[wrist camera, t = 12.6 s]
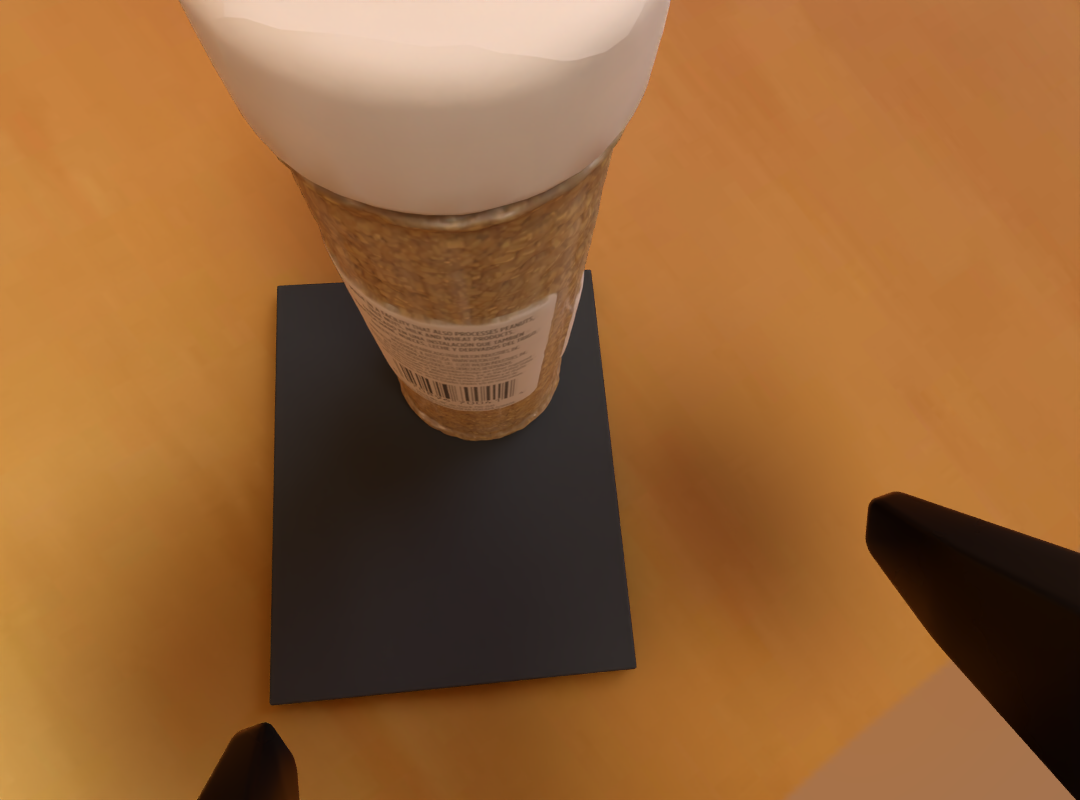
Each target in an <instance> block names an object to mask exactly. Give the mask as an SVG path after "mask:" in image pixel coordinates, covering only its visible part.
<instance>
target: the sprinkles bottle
mask: <svg viewBox="0 0 1080 800" xmlns="http://www.w3.org/2000/svg"><path fill="white" fill-rule="evenodd" d="M670 1H671V0H179V2H180V3H181V5H182V7H183V9H184V11H185V13H186V15H187V17H188V19H189V21H190V23H191V25H192V27H193V29H194V31H195V33H196V34H197V36H198V38H199V40H200V42H201V44H202V46H203V47H204V49H205V51H206V53H207V55H208V57H209V59H210V60H211V62H212V64H213V66H214V68H215V69H216V71H217V73H218V75H219V76H220V78H221V80H222V81H223V83H224V85H225V87H226V88H227V90H228V92H229V93H230V95H231V97H232V99H233V100H234V102H235V104H236V106H237V107H238V109H239V111H240V112H241V114H242V116H243V117H244V118H245V120H246V121H247V122H248V124H249V125H250V126H251V128H252V129H253V130H254V132H255V133H256V134H257V136H258V137H259V138H260V139H261V140H262V141H263V142H264V143H265V144H266V145H267V146H268V147H269V148H270V149H271V150H272V151H273V153H274V154H275V155H276V156H277V158H278V159H279V160H280V161H281V162H282V163H283V164H284V165H286V166H287V167H288V168H289V169H290V170H291V172H292V174H293V177H294V179H295V181H296V183H297V185H298V186H299V188H300V190H301V193H302V195H303V197H304V198H305V200H306V201H307V204H308V207H309V209H310V211H311V213H312V214H313V216H314V218H315V220H316V221H317V223H318V225H319V228H320V231H321V234H322V238H323V241H324V244H325V246H326V249H327V251H328V253H329V255H330V257H331V259H332V261H333V263H334V265H335V266H336V268H337V270H338V272H339V274H340V276H341V278H342V280H343V282H344V284H345V285H346V287H347V289H348V291H349V293H350V295H351V296H352V298H353V300H354V302H355V304H356V305H357V307H358V309H359V311H360V313H361V315H362V316H363V318H364V320H365V322H366V324H367V326H368V328H369V330H370V332H371V333H372V335H373V337H374V339H375V340H376V342H377V344H378V346H379V348H380V349H381V351H382V353H383V355H384V357H385V358H386V360H387V362H388V363H389V365H390V367H391V368H392V369H393V371H394V372H395V373H396V375H397V377H398V380H399V382H400V385H401V391H402V393H403V395H404V397H405V399H406V401H407V402H408V404H409V405H410V407H411V409H412V410H413V411H414V412H415V413H416V414H417V415H418V416H419V417H420V418H421V419H422V420H423V421H424V422H425V423H427V424H428V425H429V426H430V427H432V428H434V429H437V430H440V431H441V432H443V433H444V434H446V435H449V436H454V437H458V438H460V439H463V440H470V441H478V440H493V439H499V438H502V437H504V436H507V435H510V434H512V433H514V432H516V431H518V430H521V429H523V428H525V427H526V426H527V425H528V424H529V423H530V422H532V421H533V420H534V419H536V418H537V417H538V416H539V415H540V414H541V413H542V412H543V411H544V410H545V409H546V407H547V406H548V404H549V403H550V401H551V399H552V396H553V394H554V392H555V390H556V388H557V386H558V383H559V373H560V366H561V360H562V359H561V356H562V355H563V353H564V351H565V349H566V346H567V343H568V340H569V336H570V333H571V329H572V326H573V322H574V318H575V314H576V310H577V307H578V303H579V300H580V296H581V292H582V288H583V279H584V268H585V264H586V260H587V256H588V250H589V247H590V244H591V239H592V235H593V230H594V228H595V224H596V219H597V215H598V210H599V205H600V199H601V194H602V189H603V185H604V182H605V179H606V175H607V171H608V167H609V163H610V159H611V155H612V151H613V148H614V147H615V145H616V144H617V143H618V141H619V140H620V138H621V136H622V134H623V132H624V130H625V126H626V125H627V124H628V122H629V121H630V119H631V118H632V116H633V115H634V113H635V111H636V109H637V107H638V105H639V103H640V101H641V99H642V97H643V95H644V93H645V90H646V88H647V85H648V81H649V78H650V75H651V71H652V68H653V64H654V61H655V57H656V54H657V50H658V47H659V43H660V40H661V37H662V33H663V30H664V26H665V22H666V17H667V13H668V9H669V5H670Z"/></svg>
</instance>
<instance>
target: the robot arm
mask: <svg viewBox="0 0 1080 800" xmlns="http://www.w3.org/2000/svg"><path fill="white" fill-rule="evenodd" d="M866 544H867V547H868V549H869V551H870V553H871V555H872V556H873V558H874V559H875V560H876V562H877V563H878V565H879V566H880V567H881V569H882V570H883V571H884V573H885V574H886V575H887V577H888V578H889V580H890V581H891V582H892V584H893V585H894V586H895V588H896V589H897V591H898V592H899V593H900V595H901V596H902V597H903V599H904V600H905V601H906V603H907V604H908V606H909V607H910V608H911V610H912V611H913V612H914V614H915V615H916V617H917V618H918V619H919V621H920V622H921V623H922V625H923V626H924V627H925V629H926V630H927V631H928V633H929V634H930V635H931V636H932V638H933V639H934V640H935V641H936V643H937V644H938V645H939V646H940V647H941V648H942V650H943V651H944V652H945V653H946V654H947V655H948V656H949V658H950V659H951V660H952V661H953V662H954V663H955V664H956V665H957V667H958V668H959V669H960V670H961V671H962V672H963V673H964V674H965V676H966V677H967V678H968V679H969V680H970V681H971V682H972V683H973V685H974V686H975V687H976V688H977V689H978V690H979V691H980V692H981V694H982V695H983V696H984V697H985V698H986V699H987V700H988V701H989V702H990V704H991V705H992V706H993V707H994V708H995V709H996V710H997V712H998V713H999V714H1000V715H1001V716H1002V717H1003V718H1004V719H1005V721H1007V723H1008V724H1009V725H1010V726H1011V727H1012V728H1013V729H1014V730H1015V732H1016V733H1017V734H1018V735H1019V736H1020V737H1021V738H1022V740H1023V741H1024V742H1025V743H1026V744H1027V745H1028V746H1029V747H1030V749H1031V750H1032V751H1033V752H1034V753H1035V754H1036V755H1037V756H1038V758H1039V759H1040V760H1041V761H1042V762H1043V763H1044V764H1045V765H1046V766H1047V768H1048V769H1049V770H1050V771H1051V772H1052V773H1053V774H1054V776H1055V777H1056V778H1057V779H1058V780H1059V781H1060V782H1061V783H1062V784H1063V786H1064V787H1065V788H1066V789H1067V790H1068V791H1069V792H1070V793H1071V795H1072V796H1073V797H1074V798H1075V799H1076V800H1080V553H1078V552H1075V551H1072V550H1069V549H1067V548H1064V547H1061V546H1058V545H1055V544H1052V543H1049V542H1046V541H1043V540H1040V539H1037V538H1034V537H1031V536H1028V535H1025V534H1023V533H1020V532H1017V531H1014V530H1011V529H1008V528H1005V527H1002V526H999V525H996V524H993V523H990V522H987V521H984V520H981V519H978V518H976V517H973V516H970V515H967V514H964V513H961V512H958V511H955V510H952V509H949V508H946V507H943V506H940V505H937V504H934V503H932V502H929V501H926V500H923V499H920V498H917V497H914V496H911V495H908V494H905V493H902V492H891V493H888V494H885V495H882V496H880V497H877V498H874V499H873V500H872V501H871V502H870V503H869V507H868V516H867V526H866ZM197 800H300V798H299V786H298V773H297V767H296V763H295V760H294V757H293V755H292V753H291V752H290V750H289V749H288V747H287V746H286V745H285V743H284V742H283V740H282V739H281V737H280V736H279V734H278V733H277V732H276V730H275V729H274V727H273V726H272V725H271V724H269V723H267V722H264V723H260V724H257V725H255V726H252V727H249V728H246V729H244V730H241V731H239V732H238V733H236V734H235V735H234V736H233V738H232V739H231V741H230V742H229V744H228V746H227V748H226V749H225V751H224V753H223V755H222V757H221V758H220V760H219V762H218V764H217V765H216V767H215V769H214V771H213V772H212V774H211V776H210V778H209V780H208V781H207V783H206V785H205V787H204V788H203V790H202V792H201V794H200V796H199V797H198V799H197Z"/></svg>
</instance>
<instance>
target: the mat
mask: <svg viewBox="0 0 1080 800" xmlns="http://www.w3.org/2000/svg"><path fill="white" fill-rule="evenodd" d="M561 359H562V360H561V366H560V373H559V383H558V386H557V388H556V390H555V392H554V394H553V396H552V399H551V401H550V403H549V404H548V406H547V407H546V409H545V410H544V411H543V412H542V413H541V414H540V415H539V416H538V417H537V418H536V419H534V420H533V421H532V422H530V423H529V424H528V425H527V426H526V427H525V428H523V429H521V430H518V431H516V432H514V433H512V434H510V435H507V436H504V437H502V438H499V439H493V440H478V441H470V440H463V439H460V438H458V437H454V436H449V435H446V434H444V433H443V432H441V431H440V430H437V429H434V428H432V427H430V426H429V425H428V424H427V423H425V422H424V421H423V420H422V419H421V418H420V417H419V416H418V415H417V414H416V413H415V412H414V411H413V410H412V409H411V407H410V405H409V404H408V402H407V401H406V399H405V397H404V395H403V393H402V391H401V385H400V382H399V380H398V377H397V375H396V373H395V372H394V371H393V369H392V368H391V367H390V365H389V363H388V362H387V360H386V358H385V357H384V355H383V353H382V351H381V349H380V348H379V346H378V344H377V342H376V340H375V339H374V337H373V335H372V333H371V332H370V330H369V328H368V326H367V324H366V322H365V320H364V318H363V316H362V315H361V313H360V311H359V309H358V307H357V305H356V304H355V302H354V300H353V298H352V296H351V295H350V293H349V291H348V289H347V287H346V285H345V284H344V282H343V283H324V284H304V285H285V286H278V287H277V332H276V386H275V441H274V495H273V550H272V604H271V658H270V705H282V704H292V703H302V702H312V701H322V700H331V699H341V698H351V697H361V696H371V695H381V694H391V693H400V692H410V691H420V690H430V689H440V688H450V687H460V686H469V685H479V684H489V683H499V682H509V681H519V680H529V679H538V678H548V677H558V676H568V675H578V674H588V673H598V672H607V671H617V670H627V669H635V668H636V658H635V649H634V640H633V632H632V623H631V614H630V605H629V597H628V588H627V579H626V571H625V562H624V553H623V544H622V536H621V527H620V518H619V510H618V501H617V492H616V484H615V475H614V466H613V457H612V449H611V440H610V431H609V423H608V414H607V405H606V397H605V388H604V379H603V370H602V362H601V353H600V344H599V336H598V327H597V318H596V309H595V301H594V292H593V283H592V275H591V270H584V279H583V288H582V292H581V296H580V300H579V303H578V307H577V310H576V314H575V318H574V322H573V326H572V329H571V333H570V336H569V340H568V343H567V346H566V349H565V351H564V353H563V355H562V356H561Z"/></svg>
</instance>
